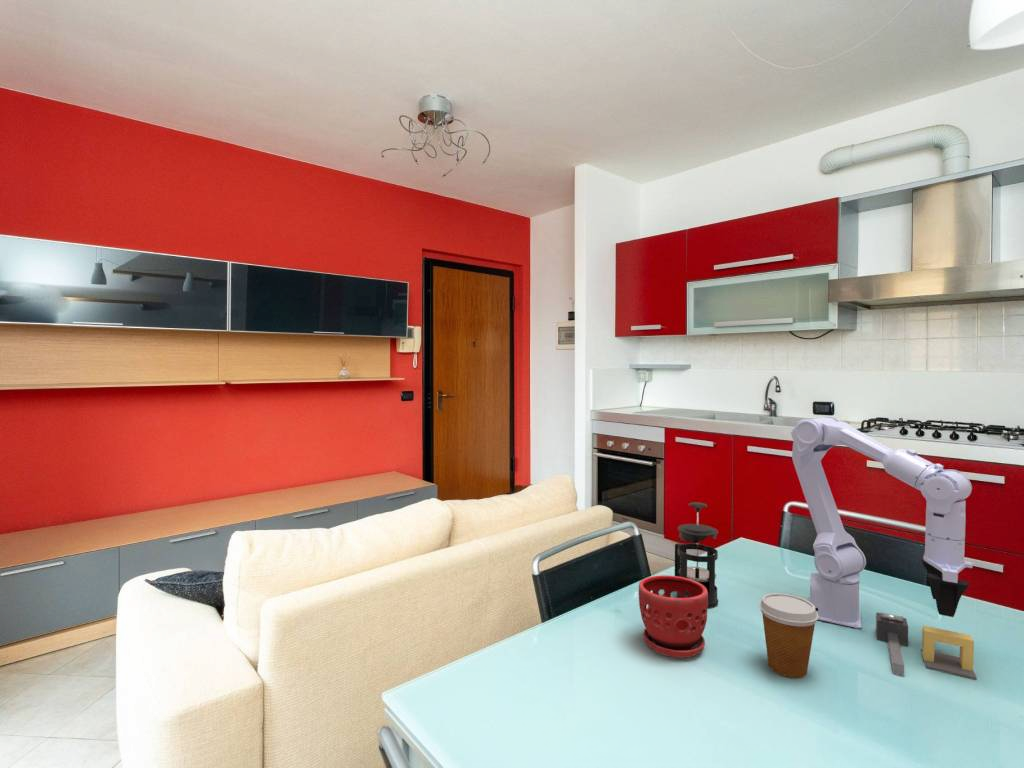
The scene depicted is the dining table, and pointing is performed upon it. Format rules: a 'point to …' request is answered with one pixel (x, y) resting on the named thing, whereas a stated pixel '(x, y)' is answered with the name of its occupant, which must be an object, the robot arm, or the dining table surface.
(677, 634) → the plant pot
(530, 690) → the dining table surface
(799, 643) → the disposable coffee cup
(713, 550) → the french press
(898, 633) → the grey block with bar
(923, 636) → the yellow pull handle
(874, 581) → the dining table surface
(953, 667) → the rubber mat
